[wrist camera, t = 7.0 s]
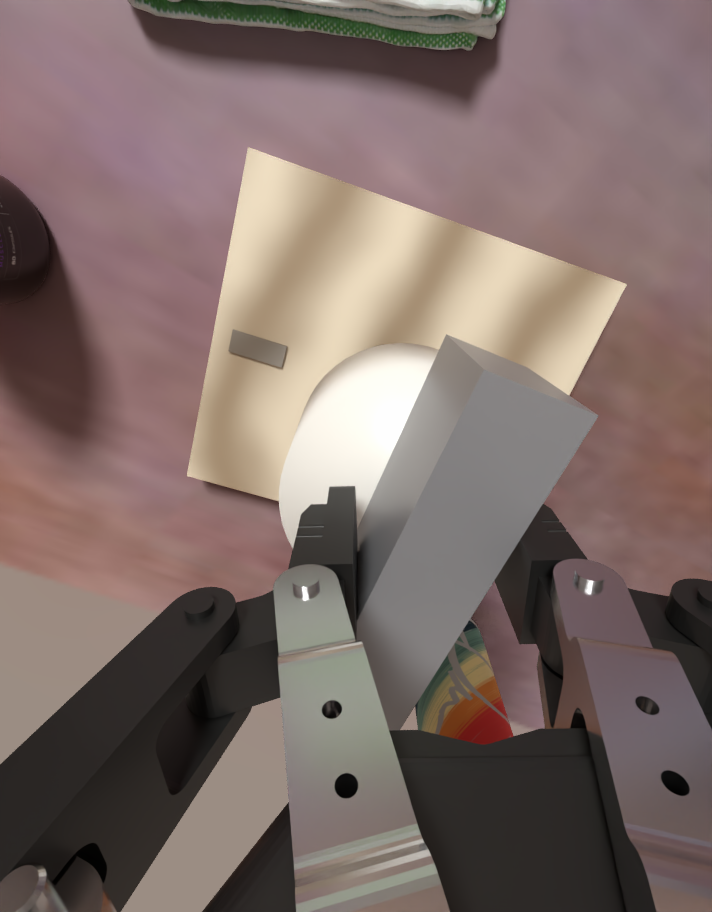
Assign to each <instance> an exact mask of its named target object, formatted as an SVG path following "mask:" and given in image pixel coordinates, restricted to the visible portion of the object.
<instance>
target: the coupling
mask: <svg viewBox="0 0 712 912" xmlns="http://www.w3.org/2000/svg"><path fill="white" fill-rule="evenodd" d="M597 417H598V415H597V414H595V413H594V412H592V411H591V410H590V409H588V408H587V407H585V406H584V405H582V404H581V403H579V402H578V401H576V400H575V399H573V398H572V397H570V396H569V395H567V394H566V393H564V392H563V391H561V390H560V389H559V388H557V387H556V386H554V385H553V384H551V383H550V382H548V381H547V380H545V379H544V378H542V377H541V376H539V375H538V374H536V373H535V372H533V371H532V370H531V369H529V368H527V367H525V366H523V365H520V364H518V363H515V362H513V361H510V360H508V359H506V358H503V357H501V356H498V355H496V354H493V353H491V352H488V351H486V350H484V349H481V348H479V347H476V346H474V345H471V344H469V343H467V342H464V341H462V340H459V339H457V338H454V337H452V336H449V335H447V334H446V336H445V338H444V340H443V342H442V345H441V347H440V349H439V350H438V349H435V348H432V347H429V346H424V345H418V344H410V343H394V344H384V345H380V346H375V347H371V348H368V349H366V350H363V351H360V352H358V353H356V354H354V355H352V356H350V357H348V358H346V359H345V360H343V361H342V362H340V363H339V364H338V365H336V366H335V367H334V368H333V369H331V370H330V371H329V372H328V373H327V374H326V375H325V376H324V377H323V378H322V380H321V381H320V382H319V383H318V384H317V386H316V387H315V389H314V390H313V392H312V394H311V395H310V397H309V399H308V401H307V404H306V406H305V408H304V411H303V413H302V416H301V419H300V422H299V424H298V427H297V430H296V433H295V435H294V438H293V441H292V444H291V446H290V449H289V452H288V455H287V457H286V460H285V463H284V467H283V470H282V474H281V478H280V486H279V509H280V515H281V520H282V524H283V527H284V530H285V533H286V536H287V538H288V540H289V542H290V544H291V546H292V548H293V547H294V542H295V538H296V534H297V529H298V525H299V521H300V516H301V514H302V513H303V512H304V511H305V510H306V509H307V508H308V507H309V506H310V505H311V504H327V499H328V492H329V487H332V486H355V490H356V513H357V539H358V569H357V641H358V640H361V642H362V644H363V646H364V649H365V652H366V656H367V659H368V662H369V665H370V669H371V672H372V675H373V679H374V682H375V685H376V689H377V692H378V695H379V699H380V702H381V705H382V708H383V712H384V715H385V718H386V722H387V725H388V728H389V730H400V729H401V727H402V726H403V724H404V723H405V721H406V719H407V718H408V716H409V715H410V713H411V711H412V710H413V708H414V707H415V705H416V704H417V702H418V700H419V699H420V697H421V696H422V694H423V692H424V691H425V689H426V688H427V686H428V685H429V683H430V681H431V680H432V678H433V677H434V675H435V674H436V672H437V670H438V669H439V667H440V666H441V664H442V662H443V661H444V659H445V658H446V656H447V655H448V653H449V651H450V650H451V648H452V647H453V645H454V643H455V642H456V640H457V639H458V637H459V636H460V634H461V632H462V631H463V629H464V628H465V626H466V624H467V623H468V621H469V620H470V618H471V617H472V615H473V613H474V612H475V610H476V609H477V607H478V606H479V604H480V602H481V601H482V599H483V598H484V596H485V594H486V593H487V591H488V590H489V588H490V587H491V585H492V583H493V582H494V580H495V579H496V577H497V575H498V574H499V572H500V571H501V569H502V568H503V566H504V564H505V563H506V561H507V560H508V558H509V557H510V555H511V553H512V552H513V550H514V549H515V547H516V545H517V544H518V542H519V541H520V539H521V538H522V536H523V534H524V533H525V531H526V530H527V528H528V526H529V525H530V523H531V522H532V520H533V519H534V517H535V515H536V514H537V512H538V511H539V509H540V508H541V506H542V504H543V503H544V501H545V500H546V498H547V496H548V495H549V493H550V492H551V490H552V489H553V487H554V485H555V484H556V482H557V481H558V479H559V477H560V476H561V474H562V473H563V471H564V470H565V468H566V466H567V465H568V463H569V462H570V460H571V458H572V457H573V455H574V454H575V452H576V451H577V449H578V447H579V446H580V444H581V443H582V441H583V440H584V438H585V436H586V435H587V433H588V432H589V430H590V428H591V427H592V425H593V424H594V422H595V421H596V419H597Z"/></svg>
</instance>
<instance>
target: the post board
mask: <svg viewBox="0 0 712 912" xmlns="http://www.w3.org/2000/svg"><path fill="white" fill-rule="evenodd" d="M626 285H627V284H624V283H622V282H619V281H616V280H613V279H611V278H608V277H605V276H602V275H600V274H597V273H594V272H591V271H589V270H586V269H583V268H580V267H577V266H575V265H572V264H569V263H566V262H564V261H561V260H558V259H555V258H553V257H550V256H547V255H544V254H542V253H539V252H536V251H533V250H531V249H528V248H525V247H522V246H520V245H517V244H514V243H511V242H508V241H506V240H503V239H500V238H497V237H495V236H492V235H489V234H486V233H484V232H481V231H478V230H475V229H473V228H470V227H467V226H464V225H462V224H459V223H456V222H453V221H450V220H448V219H445V218H442V217H439V216H437V215H434V214H431V213H428V212H426V211H423V210H420V209H417V208H415V207H412V206H409V205H406V204H404V203H401V202H398V201H395V200H393V199H390V198H387V197H384V196H381V195H379V194H376V193H373V192H370V191H368V190H365V189H362V188H359V187H357V186H354V185H351V184H348V183H346V182H343V181H340V180H337V179H335V178H332V177H329V176H326V175H323V174H321V173H318V172H315V171H312V170H310V169H307V168H304V167H301V166H299V165H296V164H293V163H290V162H288V161H285V160H282V159H279V158H277V157H274V156H271V155H268V154H266V153H263V152H260V151H257V150H254V149H252V148H249V147H248V151H247V157H246V162H245V167H244V173H243V178H242V183H241V189H240V194H239V199H238V205H237V210H236V215H235V221H234V226H233V231H232V237H231V242H230V248H229V253H228V258H227V264H226V269H225V274H224V280H223V285H222V290H221V296H220V301H219V306H218V312H217V317H216V322H215V328H214V333H213V338H212V344H211V349H210V354H209V360H208V365H207V371H206V376H205V381H204V387H203V392H202V397H201V403H200V408H199V413H198V419H197V424H196V429H195V435H194V440H193V445H192V451H191V456H190V461H189V467H188V472H187V476H189V477H193V478H196V479H200V480H203V481H207V482H211V483H214V484H218V485H222V486H225V487H229V488H232V489H236V490H240V491H243V492H247V493H251V494H254V495H258V496H261V497H265V498H269V499H272V500H276V501H279V486H280V478H281V474H282V470H283V467H284V463H285V460H286V457H287V455H288V452H289V449H290V446H291V444H292V441H293V438H294V435H295V433H296V430H297V427H298V424H299V422H300V419H301V416H302V413H303V411H304V408H305V406H306V404H307V401H308V399H309V397H310V395H311V394H312V392H313V390H314V389H315V387H316V386H317V384H318V383H319V382H320V381H321V380H322V378H323V377H324V376H325V375H326V374H327V373H328V372H329V371H330V370H331V369H333V368H334V367H335V366H336V365H338V364H339V363H340V362H342V361H343V360H345V359H346V358H348V357H350V356H352V355H354V354H356V353H358V352H360V351H363V350H366V349H368V348H371V347H375V346H380V345H384V344H394V343H410V344H418V345H424V346H429V347H432V348H435V349H438V350H439V349H440V347H441V345H442V342H443V340H444V338H445V336H446V334H447V335H449V336H452V337H454V338H457V339H459V340H462V341H464V342H467V343H469V344H471V345H474V346H476V347H479V348H481V349H484V350H486V351H488V352H491V353H493V354H496V355H498V356H501V357H503V358H506V359H508V360H510V361H513V362H515V363H518V364H520V365H523V366H525V367H527V368H529V369H531V370H532V371H533V372H535V373H536V374H538V375H539V376H541V377H542V378H544V379H545V380H547V381H548V382H550V383H551V384H553V385H554V386H556V387H557V388H559V389H560V390H561V391H563V392H564V393H566V394H567V395H570V393H571V391H572V389H573V387H574V385H575V383H576V381H577V379H578V377H579V376H580V374H581V372H582V370H583V368H584V366H585V364H586V362H587V360H588V358H589V356H590V354H591V352H592V350H593V349H594V347H595V345H596V343H597V341H598V339H599V337H600V335H601V333H602V331H603V329H604V327H605V325H606V323H607V322H608V320H609V318H610V316H611V314H612V312H613V310H614V308H615V306H616V304H617V302H618V300H619V298H620V297H621V295H622V293H623V291H624V289H625V287H626Z"/></svg>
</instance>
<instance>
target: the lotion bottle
mask: <svg viewBox="0 0 712 912" xmlns="http://www.w3.org/2000/svg"><path fill="white" fill-rule="evenodd" d="M415 707H416V716H417V725H418V730H421V731H425V732H429V733H434V734H438V735H442V736H446V737H451V738H455V739H459V740H463V741H468V742H472V743H476V744H490V743H493V742H497V741H500V740H503V739H507V738H510V737H514V736H513V733H512V730H511V727H510V724H509V721H508V718H507V714H506V711H505V708H504V705H503V702H502V699H501V695H500V692H499V689H498V686H497V683H496V680H495V677H494V673H493V670H492V667H491V664H490V661H489V658H488V654H487V651H486V648H485V645H484V642H483V639H482V636H481V634H480V631H479V629H478V627H477V625H476V624H475V622H474V621H473V620H472V619H471V618H470V620H469V621H468V623H467V624H466V626H465V628H464V629H463V631H462V632H461V634H460V636H459V637H458V639H457V640H456V642H455V643H454V645H453V647H452V648H451V650H450V651H449V653H448V655H447V656H446V658H445V659H444V661H443V662H442V664H441V666H440V667H439V669H438V670H437V672H436V674H435V675H434V677H433V678H432V680H431V681H430V683H429V685H428V686H427V688H426V689H425V691H424V692H423V694H422V696H421V697H420V699H419V700H418V702H417V704H416V705H415Z"/></svg>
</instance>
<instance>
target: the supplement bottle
mask: <svg viewBox="0 0 712 912" xmlns="http://www.w3.org/2000/svg"><path fill="white" fill-rule="evenodd" d="M49 263H50V245H49V239H48V235H47V232H46V229H45V226H44V224H43V221H42V219H41V217H40V215H39V214H38V212H37V210H36V209H35V207H34V206H33V204H32V203H31V202H30V200H29V199H28V198H27V197H26V196H25V194H24V193H23V192H22V191H21V190H20V189H19V188H17V187H16V186H15V185H14V184H13V183H11V182H10V181H9V180H7V179H6V178H4V177H3V176H1V175H0V305H3V304H10V303H14V302H18V301H21V300H23V299H25V298H27V297H29V296H30V295H32V294H33V293H34V292H35V291H36V290H37V289H38V288H39V287H40V286H41V284H42V283H43V281H44V279H45V277H46V275H47V272H48V268H49Z"/></svg>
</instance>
